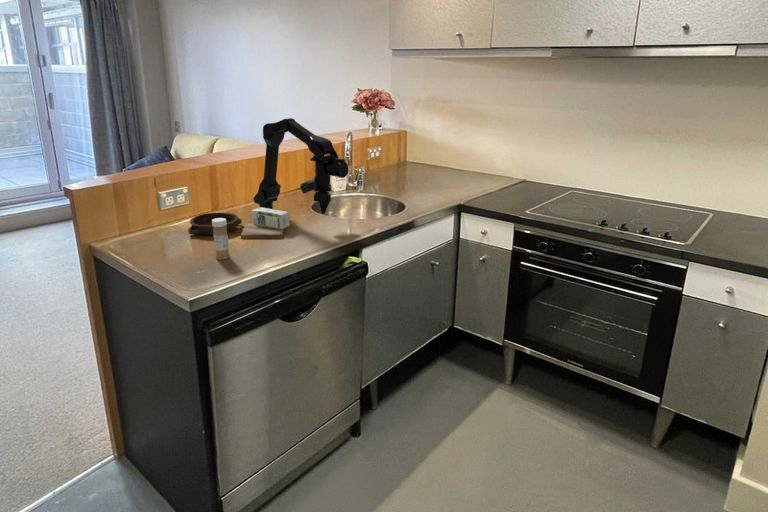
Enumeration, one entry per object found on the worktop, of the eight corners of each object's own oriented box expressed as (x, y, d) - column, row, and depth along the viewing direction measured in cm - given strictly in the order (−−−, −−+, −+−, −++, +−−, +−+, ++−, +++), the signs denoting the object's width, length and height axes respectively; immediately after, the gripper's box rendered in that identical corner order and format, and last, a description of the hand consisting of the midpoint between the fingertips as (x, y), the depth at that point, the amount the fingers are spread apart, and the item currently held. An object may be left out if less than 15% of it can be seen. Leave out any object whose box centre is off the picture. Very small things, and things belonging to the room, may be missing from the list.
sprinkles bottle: (225, 254, 179) (221, 216, 175) (232, 257, 177) (228, 219, 172) (212, 257, 176) (209, 219, 172) (220, 261, 173) (216, 222, 169)
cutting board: (248, 225, 210) (248, 221, 210) (286, 225, 211) (285, 221, 211) (241, 238, 195) (240, 234, 195) (281, 238, 196) (281, 234, 196)
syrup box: (281, 229, 201) (251, 224, 207) (290, 225, 206) (260, 220, 212) (280, 215, 199) (250, 210, 205) (289, 211, 204) (259, 206, 210)
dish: (177, 231, 202) (176, 219, 200) (228, 220, 217) (227, 208, 215) (201, 242, 191) (199, 229, 189) (252, 229, 206) (251, 217, 204)
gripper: (302, 168, 206) (304, 206, 212) (299, 179, 189) (300, 220, 194) (331, 168, 207) (331, 207, 212) (330, 179, 189) (330, 220, 195)
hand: (323, 213), depth 204 cm, fingers closed
